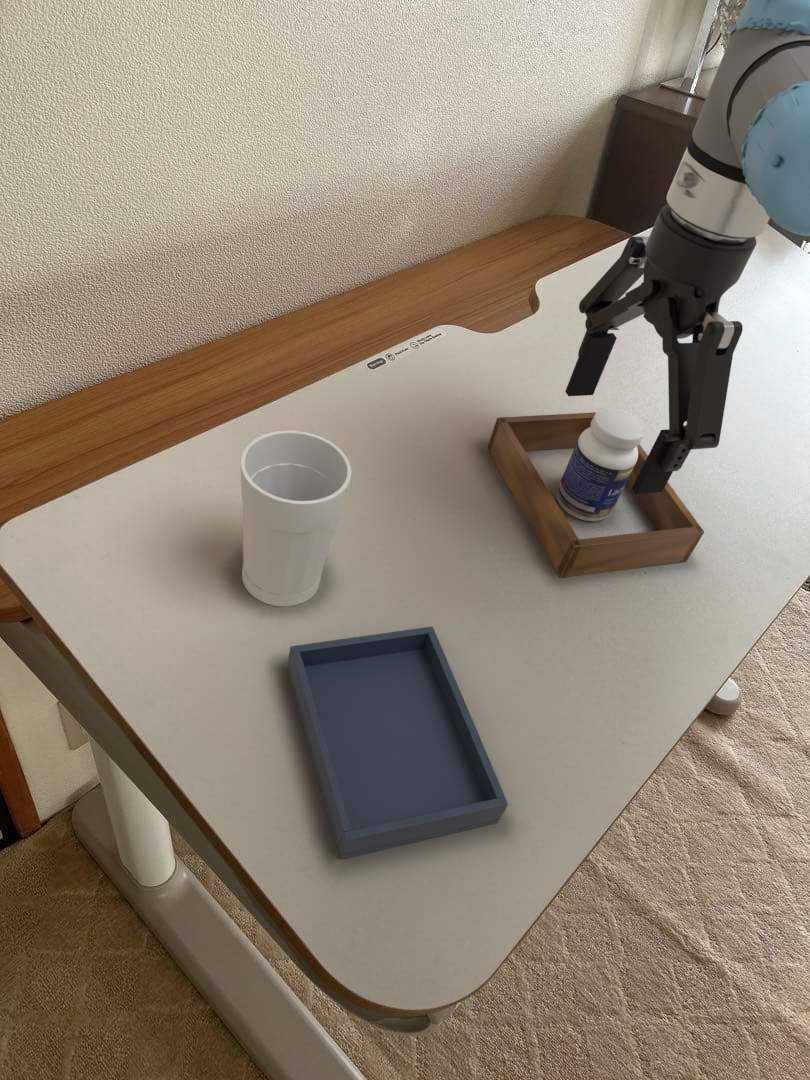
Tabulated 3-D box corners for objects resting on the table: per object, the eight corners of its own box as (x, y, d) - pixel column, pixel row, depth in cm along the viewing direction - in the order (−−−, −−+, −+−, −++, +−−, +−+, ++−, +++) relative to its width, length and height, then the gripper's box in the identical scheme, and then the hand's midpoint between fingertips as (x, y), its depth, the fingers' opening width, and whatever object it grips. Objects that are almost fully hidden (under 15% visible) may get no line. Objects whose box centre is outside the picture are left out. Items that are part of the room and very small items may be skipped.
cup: (265, 527, 75) (278, 416, 67) (347, 568, 74) (370, 459, 66) (211, 585, 70) (218, 471, 62) (298, 630, 68) (316, 520, 60)
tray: (498, 822, 60) (508, 804, 58) (340, 859, 56) (346, 840, 54) (425, 646, 70) (432, 625, 68) (286, 667, 66) (290, 646, 64)
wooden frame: (686, 561, 83) (704, 531, 80) (560, 578, 78) (574, 546, 75) (602, 440, 94) (615, 410, 91) (486, 448, 89) (497, 417, 86)
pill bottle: (605, 532, 83) (645, 451, 77) (548, 509, 84) (582, 427, 77) (616, 496, 88) (654, 417, 81) (561, 475, 88) (595, 395, 81)
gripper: (593, 143, 72) (521, 359, 87) (765, 314, 57) (641, 541, 72) (670, 148, 75) (587, 357, 90) (854, 312, 59) (716, 532, 74)
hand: (611, 439), depth 81 cm, fingers open, 13 cm apart
